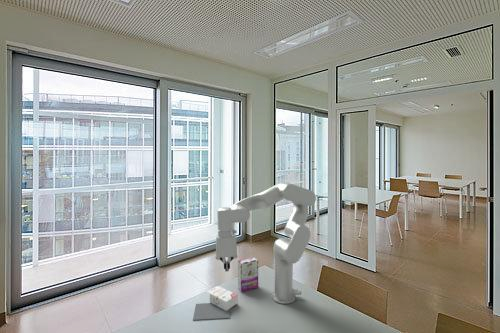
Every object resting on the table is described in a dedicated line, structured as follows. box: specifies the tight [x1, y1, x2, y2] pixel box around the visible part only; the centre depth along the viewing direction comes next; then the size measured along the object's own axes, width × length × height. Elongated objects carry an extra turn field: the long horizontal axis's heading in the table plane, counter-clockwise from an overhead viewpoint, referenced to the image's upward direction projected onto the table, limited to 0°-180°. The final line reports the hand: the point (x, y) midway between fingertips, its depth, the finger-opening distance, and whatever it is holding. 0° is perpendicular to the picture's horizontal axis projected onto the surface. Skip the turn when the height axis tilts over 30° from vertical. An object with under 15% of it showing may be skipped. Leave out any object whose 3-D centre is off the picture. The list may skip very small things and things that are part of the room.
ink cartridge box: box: [206, 285, 238, 311], centre depth 132 cm, size 9×5×15 cm
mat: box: [192, 302, 231, 322], centre depth 124 cm, size 17×13×1 cm
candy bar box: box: [237, 256, 259, 293], centre depth 147 cm, size 11×5×16 cm, turn 117°
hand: (227, 270), depth 125 cm, fingers closed
